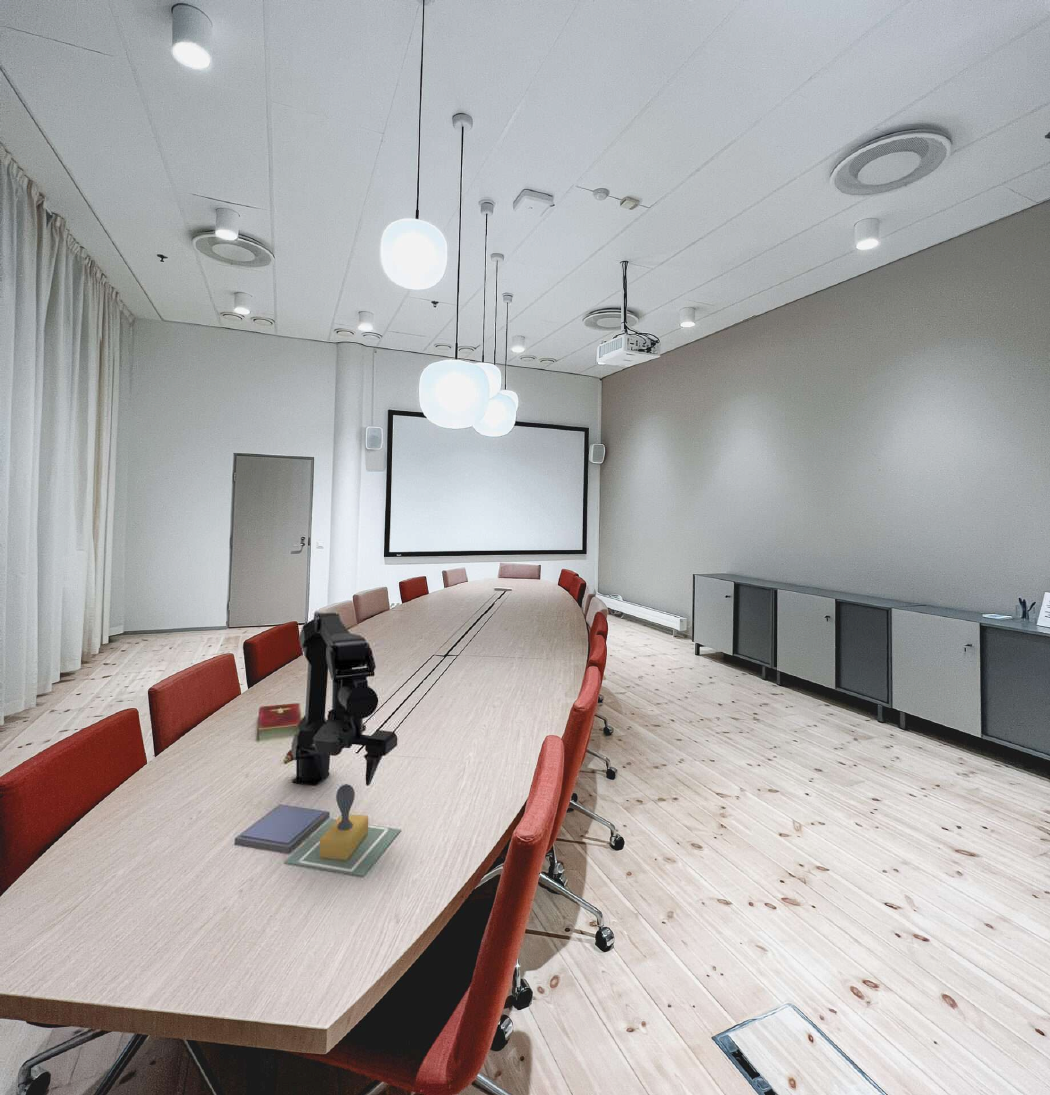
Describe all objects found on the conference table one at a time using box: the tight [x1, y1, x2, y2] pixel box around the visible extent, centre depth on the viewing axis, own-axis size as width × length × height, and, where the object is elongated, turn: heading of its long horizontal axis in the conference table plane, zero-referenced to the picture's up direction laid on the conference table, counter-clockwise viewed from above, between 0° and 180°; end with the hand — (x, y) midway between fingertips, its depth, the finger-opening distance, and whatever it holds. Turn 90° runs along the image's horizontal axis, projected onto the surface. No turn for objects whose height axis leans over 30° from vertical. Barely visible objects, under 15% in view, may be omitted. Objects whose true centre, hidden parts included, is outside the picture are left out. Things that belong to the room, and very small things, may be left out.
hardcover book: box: [256, 702, 303, 742], centre depth 176 cm, size 12×21×4 cm, turn 24°
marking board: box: [283, 818, 402, 878], centre depth 113 cm, size 16×16×1 cm
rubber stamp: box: [319, 784, 369, 860], centre depth 113 cm, size 10×6×12 cm, turn 173°
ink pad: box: [234, 803, 330, 854], centre depth 119 cm, size 12×14×2 cm
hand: (346, 781), depth 113 cm, fingers open, 9 cm apart
